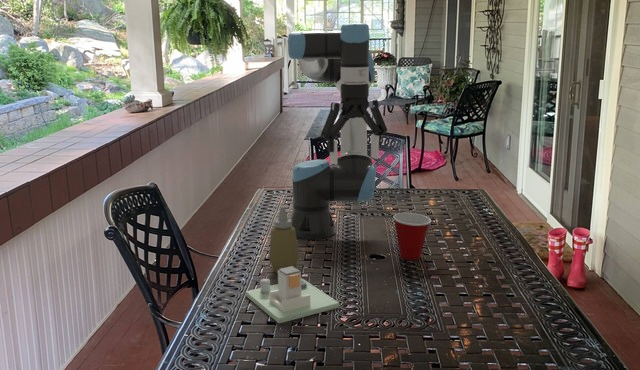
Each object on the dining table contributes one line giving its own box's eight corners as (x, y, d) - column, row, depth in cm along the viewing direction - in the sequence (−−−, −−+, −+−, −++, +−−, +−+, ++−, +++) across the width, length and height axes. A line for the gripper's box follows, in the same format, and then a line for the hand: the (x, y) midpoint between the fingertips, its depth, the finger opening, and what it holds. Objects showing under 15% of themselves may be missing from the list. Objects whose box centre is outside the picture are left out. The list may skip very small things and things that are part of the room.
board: (245, 295, 159) (245, 280, 158) (302, 282, 167) (301, 267, 166) (278, 323, 144) (278, 306, 143) (339, 307, 152) (339, 290, 151)
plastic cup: (429, 264, 179) (430, 223, 176) (390, 262, 181) (391, 221, 178) (430, 251, 189) (432, 212, 186) (394, 249, 191) (394, 210, 188)
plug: (278, 302, 152) (277, 268, 150) (293, 298, 154) (292, 265, 152) (288, 309, 148) (287, 275, 146) (303, 305, 150) (302, 272, 148)
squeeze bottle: (303, 267, 178) (302, 204, 173) (292, 277, 170) (291, 212, 166) (276, 263, 180) (274, 202, 176) (264, 274, 173) (262, 210, 169)
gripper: (321, 86, 162) (322, 168, 167) (400, 81, 174) (399, 158, 179) (307, 84, 168) (308, 163, 173) (384, 79, 181) (383, 153, 186)
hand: (354, 161), depth 176 cm, fingers open, 13 cm apart
